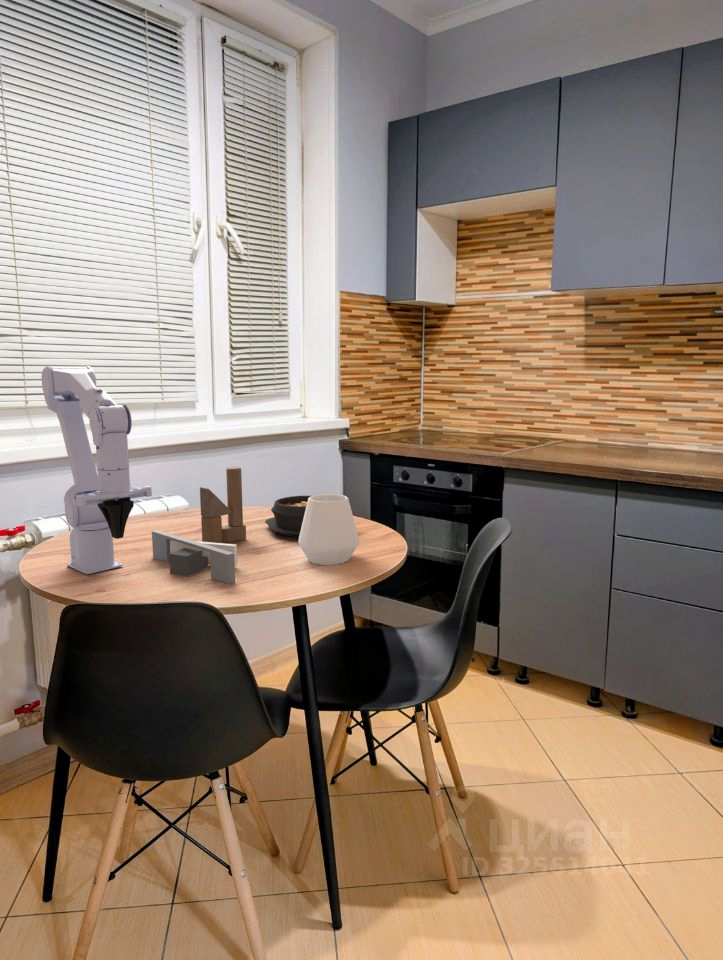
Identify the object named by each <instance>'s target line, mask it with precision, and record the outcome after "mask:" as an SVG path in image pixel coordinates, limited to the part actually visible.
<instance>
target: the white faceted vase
mask: <svg viewBox="0 0 723 960" xmlns="http://www.w3.org/2000/svg"><path fill="white" fill-rule="evenodd" d="M310 496H311V497H309V498H308V502H307V506H306V510H305V514H304V518H303V523H302V527H301V531H300V535H299V537H298V541H297V542H298V545H299V547H300V549H301V550H302V552H303V554H304V555H305V557H306V558H307V560H308V562H309V563H313V564H315V565H323V566H325V565H326V566H332V565H333V566H335V565H341V564H345V563H347V562H348V561H349V560H350V559H351V557H352V556H353V553H354V552H355V550H356V549H357V548H358V545H359V543H360V539H359V535H358V531H357V526H356V523H355V518H354V515H353V511H352V507H351V504H350V500H349V497H347V496H346V495H343V494H337V493H336V494H335V493H324V494H323V493H321V494H314V495H310ZM346 561H347V562H346ZM344 562H345V563H344ZM340 563H341V564H340Z"/></svg>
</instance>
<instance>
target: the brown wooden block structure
mask: <svg viewBox="0 0 723 960" xmlns="http://www.w3.org/2000/svg"><path fill="white" fill-rule="evenodd" d="M225 471H226V495H227V496H226V497H227V498H226V499H227V500H226V502H227V505H226V504H225V502H223V501H222V500H221V499H220V498H219V497H218V496H217V495H216V494H214V492H213V491H211V490H210V489H209V488H206V487H199V499H200V503H199V505H200V516H201V517H200V518H201V520H200V521H201V542H212V543H224V544H232V543H235V542H239V541H242V540H246V539H247V525H245V524H243V523H244V515H243V485H242V483H243V482H242V478H243V477H242V467H240V466H231V467H230V466H229V467H227V468H226V470H225ZM226 515H227V525H223V523H222V518H223V517H222V516H226Z"/></svg>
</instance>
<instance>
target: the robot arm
mask: <svg viewBox="0 0 723 960" xmlns="http://www.w3.org/2000/svg"><path fill="white" fill-rule="evenodd" d="M41 388H42V391H43V396H44V400H45V404H46V406H47V409H48V410H50V411H52V412H54V413H55V414H56V416H57V419H58V422H59V426H60V429H61V433H62V437H63V441H64V445H65V450H66V455H67V458H68V462H69V467H70V470H71V474H72V479H73V482H74V484H73V485H71V486H70V488H68V489H67V490H66V491H65V494H64V497H63V502H64V514H65V518H66V522H67V523H68V526H70V527H71V528H72V529H71V531H70V534H69V548H70V561H71V562H68V563H67V565H66V566H68V567H70V568H72V569H74V570H76V571H79V572H81V573H83V574H85V575H90V574H94V573H95V574H96V573H100V572H104V571H108V570H111V569H116V568H121V567H123V566H124V565H123V563H121V562H118V561H115V551H114V539H116V540H118V539H122V538H123V539H124V534H125V531H126V530H125V529H126V525H127V521H128V518H129V516H130V513H131V511H132V510H133V508H134V506H135V504H134V500H131V499H136V498H142V497H147V498H148V497H153V493H152V490H153V489H152V486H150V485H141V486H131V478H130V476H131V475H130V461H129V446H128V444H129V443H128V441H129V440H128V435H129V434H130V433H131V431H132V425H133V423H132V422H133V420H132V414H131V411H130V407H128V406H127V404H125V403H124V404H123V403H122V404H117V403H116V402H115V401H114V400H113V399H112V397H110V395H109V394H108V393H107V392H106V391H105V390H103V388H102V387H97V379H96V373H95V371H94V369H93V368H92V367H91V366H89V365H86V366H49V365H46V366H44V368H43V369H42V372H41ZM83 414H85V416H86V417H87V418H88V419H89V427H90V428H89V429H90V432H91V435H92V442H93V445H94V446H95V450H96V451H95V453H96V464H95V460H94V456H93V452H92V449H91V444H90V439H89V437H88V432H87V429H86V425H85V421H84V417H83Z"/></svg>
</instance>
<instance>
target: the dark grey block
mask: <svg viewBox="0 0 723 960" xmlns="http://www.w3.org/2000/svg"><path fill="white" fill-rule="evenodd" d="M168 563H169V574H170V575H175V576H181V577H187V578H188V577H190V576H192V575H195V574H197V573H199V572H201V571H204V570H206V569H209V565H208V557H205V556H202V550H197V549H189V548H183V549H180V550H178V551H175V552H173V553H170V554H169V562H168Z"/></svg>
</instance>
